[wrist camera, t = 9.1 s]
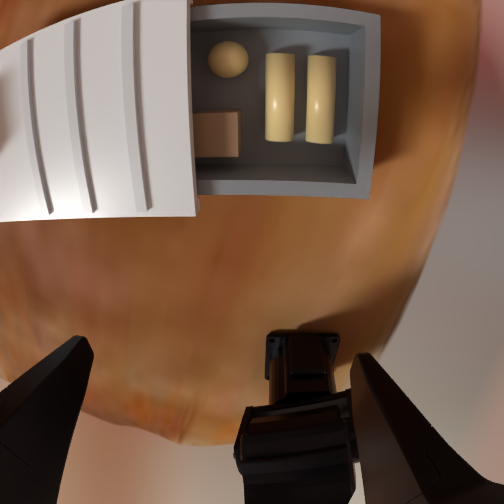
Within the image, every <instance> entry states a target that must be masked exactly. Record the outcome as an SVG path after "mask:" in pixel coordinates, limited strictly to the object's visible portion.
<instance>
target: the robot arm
mask: <svg viewBox="0 0 504 504" xmlns="http://www.w3.org/2000/svg"><path fill="white" fill-rule="evenodd" d="M339 342H340V337H339V335H338V334H336V333H330V334H278V333H271V334H268V335H267V337H266V357H265V379H266V380H269V405H265V406H257V407H253V406H249V407H246V409H245V412H244V415H243V418H242V421H241V425H240V428H239V431H238V435H237V438H236V441H235V445H234V453H233V457H234V459H235V460H236V464H237V467H238V470H239V472H240V474H241V475H242V476H243V483H244V499H245V504H348V503H349V501H350V499H351V497H352V496H353V493H354V492H355V489H356V474H355V465H354V463H358V462H360V465H361V472H362V479H363V486H364V494H365V502H366V504H504V485H502V484H499V483H495V482H492V481H489V480H487V479H486V478H484V477H483V476H481V475H480V474H479V473H478V472H477V471H475V470H474V469H473V468H472V467H471V466H470V465H469V464H468V463H467V462H466V461H465V460H464V459H463V458H462V457H461V456H460V455H458V454H457V453H456V452H455V451H454V450H453V449H452V448H451V447H450V446H449V445H448V443H447V442H446V441H445V440H444V439H443V438H442V437H441V436H440V434H439V433H438V432H437V431H436V430H435V429H434V427H431V424H430V423H429V422H428V420H427V419H426V418H425V417H424V416H423V414H422V413H421V412H420V411H419V410H418V409H417V407H416V406H415V405H414V404H413V403H412V402H411V400H410V399H409V398H408V397H407V396H406V395H405V393H404V392H403V391H402V390H401V389H400V388H399V386H398V385H397V384H396V383H395V382H394V381H393V379H392V378H391V377H390V376H389V375H388V374H387V372H386V371H385V370H384V369H383V368H382V367H381V366H380V364H379V363H378V362H377V361H376V360H375V359H374V357H373V356H372V355H371V354H370V353H368V352H364V353H357V354H356V355H355V358H354V361H353V364H352V366H351V369H350V382H351V388H350V389H346V391H342V392H336V385H335V379H334V372H333V364H334V360H335V357H336V353H337V350H338V346H339ZM93 359H94V353H93V350H92V348H91V346H90V344H89V342H88V340H87V338H86V337H84V336H78V335H75V336H73V337H72V338H71V339H69V340H68V341H66V342H65V343H64V344H62V345H61V346H60V347H58V348H57V349H56V350H54V351H53V352H52V353H50V354H49V355H48V356H46V357H45V358H44V359H42V360H41V361H40V362H38V363H37V364H36V365H34V366H33V367H32V368H31V369H29V370H28V371H27V372H25V373H24V374H23V375H21V376H20V377H19V378H18V379H16V380H15V381H14V382H12V383H11V384H10V385H8V386H7V388H5V389H4V390H2V391H1V392H0V504H56V503H57V498H58V494H59V488H60V484H61V479H62V475H63V471H64V467H65V462H66V459H67V455H68V451H69V447H70V443H71V440H72V436H73V433H74V429H75V426H76V422H77V419H78V416H79V413H80V409H81V406H82V403H83V400H84V397H85V393H86V389H87V385H88V380H89V376H90V371H91V367H92V363H93Z"/></svg>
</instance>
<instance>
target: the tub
mask: <svg viewBox="0 0 504 504" xmlns="http://www.w3.org/2000/svg"><path fill="white" fill-rule="evenodd" d="M190 54H191V93H192V118H193V138H194V155H195V171H196V185H197V195H285V196H314V197H336V198H355V199H369V195H370V187H371V180H372V172H373V164H374V155H375V145H376V134H377V122H378V109H379V91H380V63H381V24H380V15H377V14H372V13H367V12H361V11H356V10H349V9H343V8H335V7H327V6H317V5H306V4H290V3H232V4H216V5H205V6H195V7H190Z"/></svg>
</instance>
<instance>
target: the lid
mask: <svg viewBox="0 0 504 504" xmlns="http://www.w3.org/2000/svg"><path fill="white" fill-rule="evenodd" d="M192 4H193V0H124V1H120V2H117V3H113V4H110V5H106V6H103V7H100V8H96V9H93V10H90V11H87V12H84V13H82V14H79V15H76V16H73V17H71V18H68V19H65V20H63V21H60V22H58V23H55V24H53V25H51V26H48V27H46V28H44V29H42V30H39V31H37V32H35V33H33V34H31V35H29V36H27V37H25V38H23V39H21V40H19V41H17V42H15V43H13V44H11V45H9V46H7V47H5V48H4V49H2V50H0V222H7V221H25V220H46V219H71V218H103V217H163V216H196V215H197V213H198V211H199V209H200V197H197V185H196V171H195V155H194V138H193V118H192V93H191V54H190V5H192Z"/></svg>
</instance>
